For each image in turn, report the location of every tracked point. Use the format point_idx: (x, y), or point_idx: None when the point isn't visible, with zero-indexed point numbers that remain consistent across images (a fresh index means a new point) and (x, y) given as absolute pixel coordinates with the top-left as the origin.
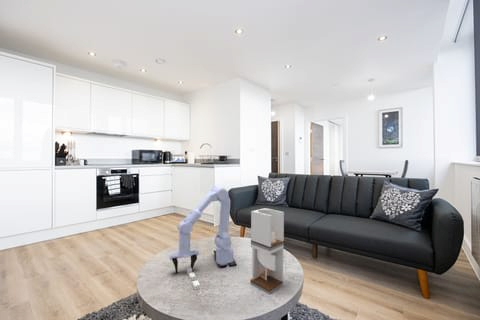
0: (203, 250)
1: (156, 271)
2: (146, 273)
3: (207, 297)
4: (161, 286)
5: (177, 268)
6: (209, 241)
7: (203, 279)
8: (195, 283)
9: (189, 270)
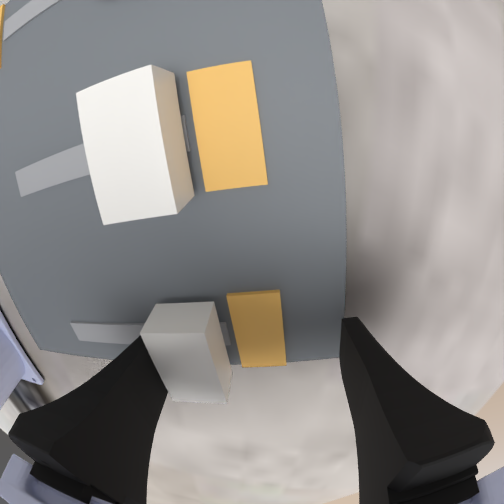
0: None
1: (449, 393)
2: (497, 375)
3: None
4: (500, 160)
5: (363, 361)
6: None
7: None
8: None
9: (178, 321)
